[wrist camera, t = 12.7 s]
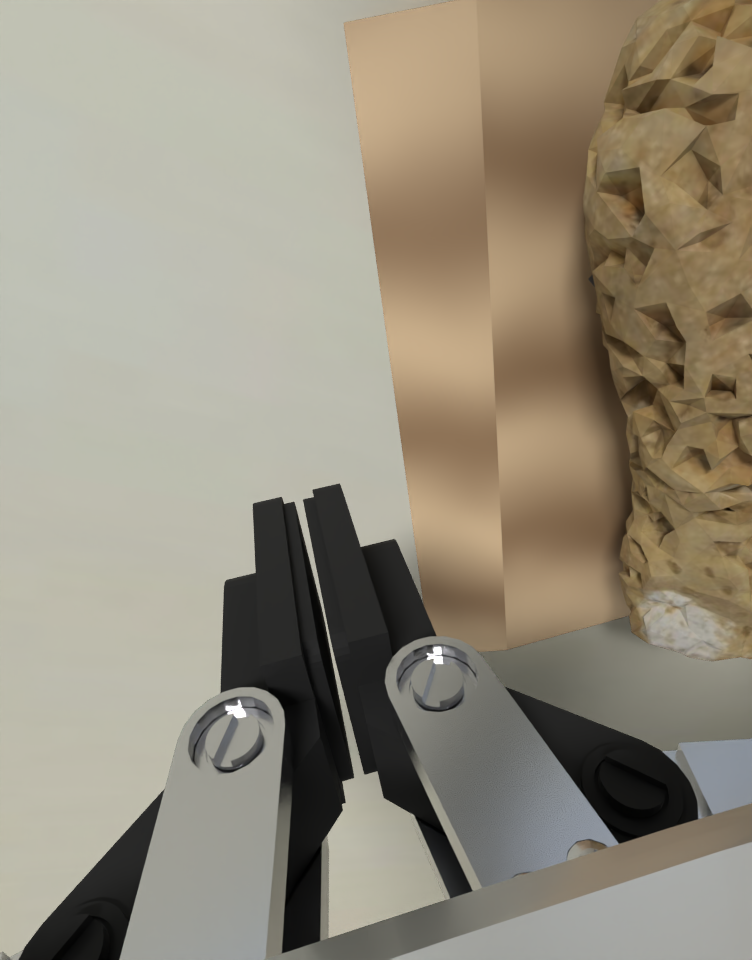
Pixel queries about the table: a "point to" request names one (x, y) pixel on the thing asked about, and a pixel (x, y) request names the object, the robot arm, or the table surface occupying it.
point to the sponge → (681, 316)
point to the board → (497, 306)
